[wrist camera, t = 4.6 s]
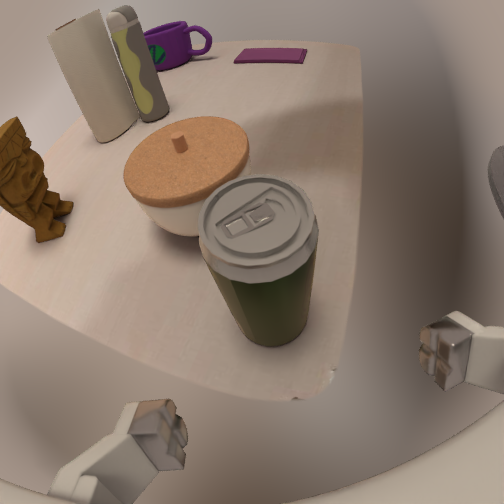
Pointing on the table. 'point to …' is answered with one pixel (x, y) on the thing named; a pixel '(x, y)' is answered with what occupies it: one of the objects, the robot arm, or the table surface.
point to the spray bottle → (137, 63)
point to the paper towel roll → (94, 75)
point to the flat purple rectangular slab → (271, 55)
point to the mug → (174, 44)
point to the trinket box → (185, 169)
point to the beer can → (261, 254)
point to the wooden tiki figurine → (28, 184)
